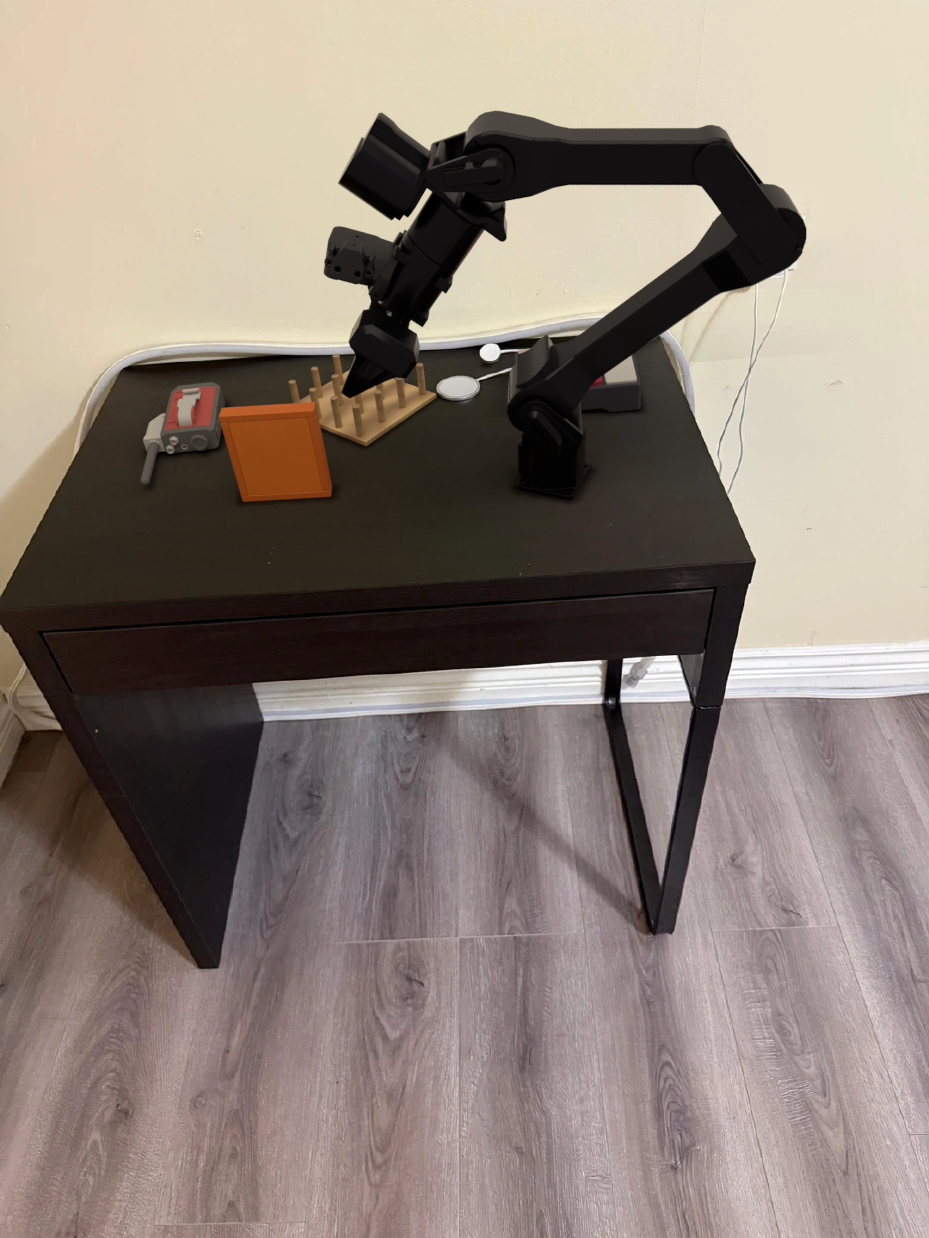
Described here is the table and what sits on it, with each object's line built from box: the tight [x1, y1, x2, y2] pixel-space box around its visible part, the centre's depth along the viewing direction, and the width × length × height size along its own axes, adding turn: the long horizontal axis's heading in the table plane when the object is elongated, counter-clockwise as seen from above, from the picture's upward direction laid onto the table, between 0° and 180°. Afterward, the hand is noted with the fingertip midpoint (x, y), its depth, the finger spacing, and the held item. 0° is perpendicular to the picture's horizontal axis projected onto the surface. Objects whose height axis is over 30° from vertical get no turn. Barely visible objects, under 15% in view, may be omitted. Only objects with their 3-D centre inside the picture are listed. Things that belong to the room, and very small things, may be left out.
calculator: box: [514, 347, 642, 413], centre depth 113 cm, size 11×4×15 cm
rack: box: [288, 353, 437, 447], centre depth 113 cm, size 14×13×5 cm
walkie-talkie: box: [139, 381, 226, 486], centre depth 110 cm, size 9×4×20 cm
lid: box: [219, 402, 333, 503], centre depth 98 cm, size 10×2×11 cm, turn 91°
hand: (352, 372), depth 93 cm, fingers open, 9 cm apart
